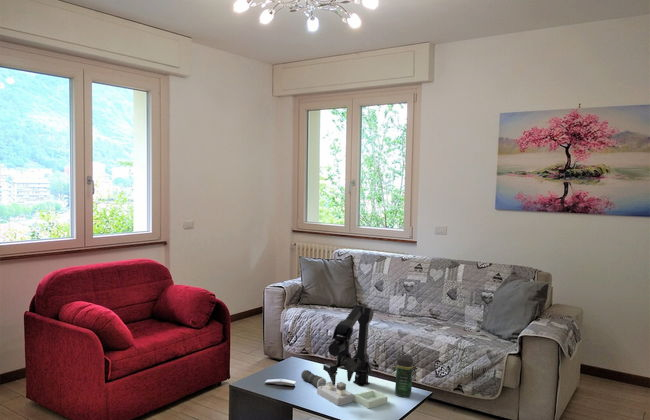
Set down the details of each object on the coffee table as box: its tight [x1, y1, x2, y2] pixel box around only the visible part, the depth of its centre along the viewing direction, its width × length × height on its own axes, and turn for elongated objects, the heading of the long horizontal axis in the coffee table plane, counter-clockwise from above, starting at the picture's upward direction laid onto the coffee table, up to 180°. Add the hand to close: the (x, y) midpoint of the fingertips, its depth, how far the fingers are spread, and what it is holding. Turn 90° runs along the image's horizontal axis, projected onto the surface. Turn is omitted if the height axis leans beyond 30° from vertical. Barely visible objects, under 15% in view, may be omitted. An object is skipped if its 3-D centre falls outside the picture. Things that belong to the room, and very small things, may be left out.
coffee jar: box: [394, 354, 414, 398], centre depth 249 cm, size 10×8×19 cm
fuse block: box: [316, 384, 355, 406], centre depth 241 cm, size 10×16×3 cm, turn 37°
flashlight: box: [300, 369, 327, 388], centre depth 257 cm, size 15×5×5 cm, turn 37°
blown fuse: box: [336, 381, 347, 396], centre depth 238 cm, size 3×3×8 cm
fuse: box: [326, 381, 336, 390], centre depth 244 cm, size 3×3×6 cm
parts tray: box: [353, 389, 389, 409], centre depth 238 cm, size 12×10×3 cm
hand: (341, 383), depth 238 cm, fingers open, 9 cm apart
